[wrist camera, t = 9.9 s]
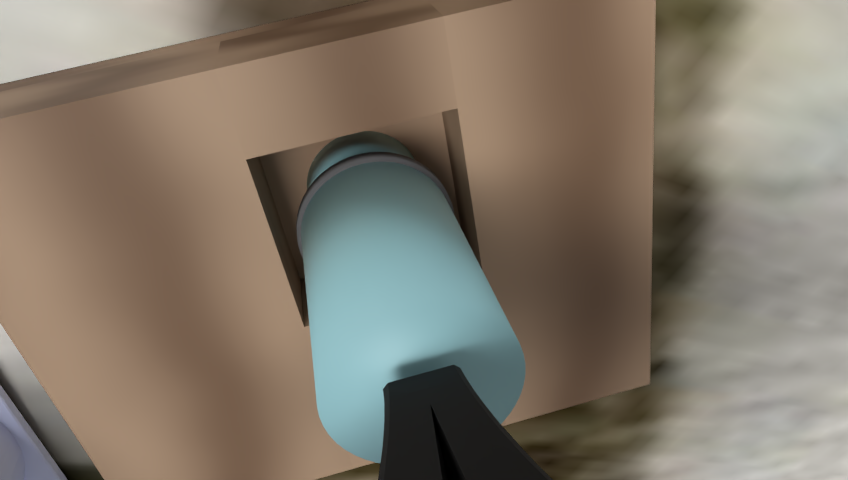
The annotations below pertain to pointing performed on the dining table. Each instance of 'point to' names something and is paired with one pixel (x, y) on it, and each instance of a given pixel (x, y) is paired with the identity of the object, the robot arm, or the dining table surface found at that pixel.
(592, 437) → the dining table surface
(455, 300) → the peg
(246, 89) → the board
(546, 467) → the dining table surface
